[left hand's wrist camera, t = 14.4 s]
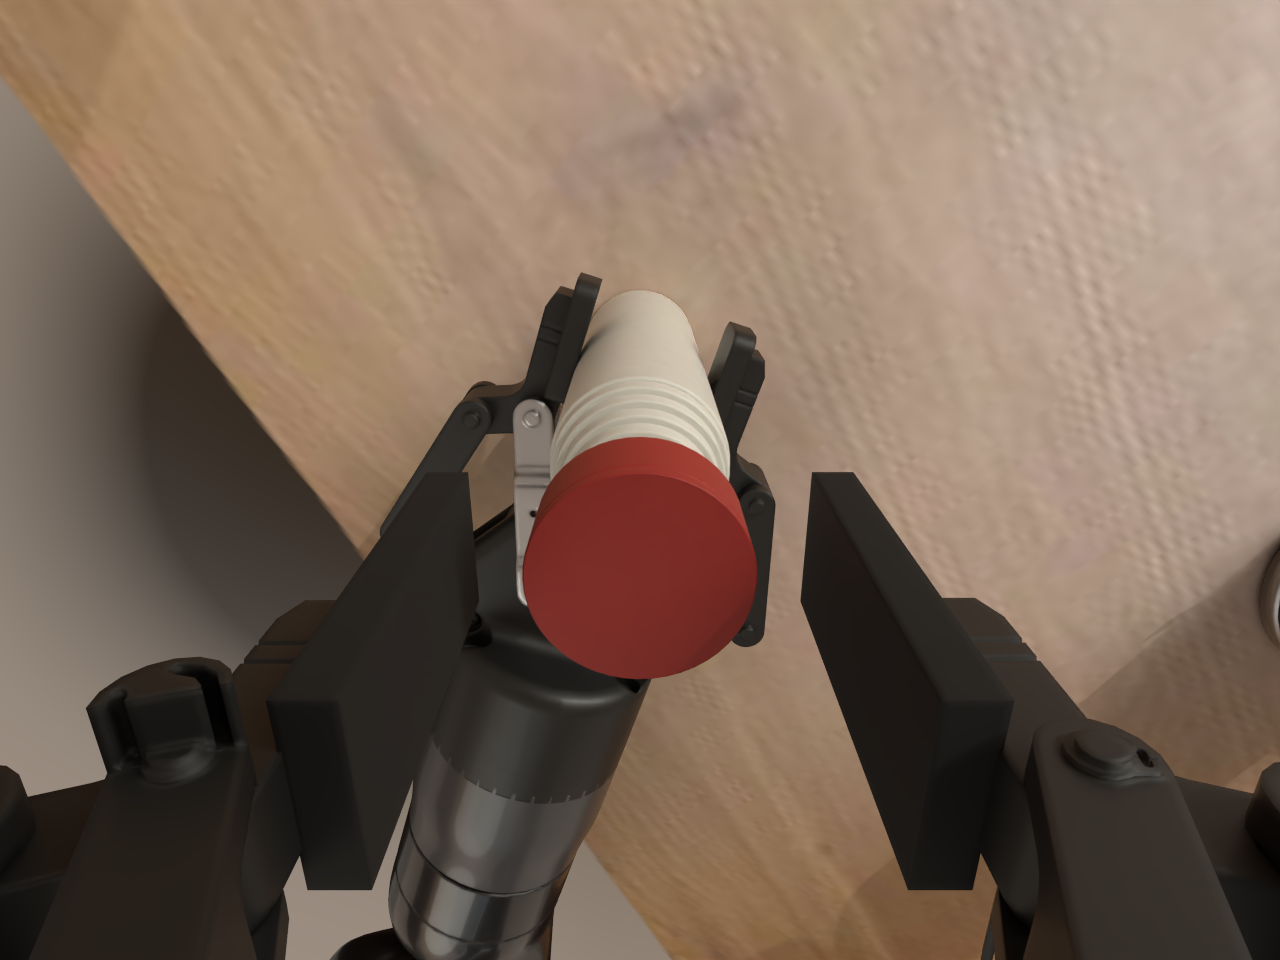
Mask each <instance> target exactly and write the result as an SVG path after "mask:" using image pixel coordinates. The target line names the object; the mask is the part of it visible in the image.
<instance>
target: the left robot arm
mask: <svg viewBox="0 0 1280 960" xmlns="http://www.w3.org/2000/svg"><path fill="white" fill-rule="evenodd" d="M478 604H479V590H478V579H477V568H476V557H475V546H474V535H473V524H472V513H471V502H470V490H469V479H468V472H427V473H426V474H425V475H424V477H423V478H422V480H421V481H420V483H419V484H418V485H417V487H416V488H415V490H414V491H413V492H412V494H411V495H410V497H409V498H408V500H407V501H406V502H405V504H404V505H403V507H402V508H401V509H400V511H399V512H398V514H397V515H396V517H395V518H394V519H393V521H392V522H391V524H390V525H389V526H388V528H387V529H386V531H385V532H384V534H383V535H382V536H381V538H380V539H379V541H378V542H377V543H376V545H375V546H374V548H373V549H372V551H371V552H370V553H369V555H368V556H367V558H366V559H365V561H364V562H363V563H362V565H361V566H360V568H359V569H358V571H357V572H356V573H355V575H354V576H353V578H352V579H351V580H350V582H349V583H348V585H347V586H346V587H345V589H344V590H343V592H342V593H341V595H340V596H339V597H338V599H337V600H306V601H304V602H302V603H301V604H299V605H298V606H296V607H295V608H293V609H291V610H290V611H288V612H287V613H285V614H284V615H282V616H281V617H279V618H278V619H276V620H275V622H274V623H273V624H272V625H271V627H270V628H269V629H268V630H267V631H266V633H265V634H264V635H263V636H262V638H261V639H260V640H259V645H255V646H254V648H253V649H252V650H251V651H250V652H249V654H248V655H247V656H246V657H245V659H244V664H240V665H239V666H238V667H237V669H236V670H235V671H234V672H233V674H232V673H231V669H230V668H228V667H227V666H226V665H224V664H223V663H222V662H221V661H219V660H213V659H208V658H203V657H191V658H177V659H171V660H168V661H164V662H160V663H156V664H152V665H148V666H146V667H143V668H141V669H139V670H136V671H134V672H132V673H130V674H127V675H125V676H123V677H121V678H119V679H118V680H116V681H115V682H113V683H112V684H110V685H109V686H107V687H106V688H104V689H103V690H102V691H100V692H99V693H98V694H97V695H96V697H95V698H94V699H93V700H92V701H91V703H90V704H89V705H88V706H87V707H86V710H87V713H88V716H89V719H90V722H91V725H92V728H93V731H94V734H95V737H96V740H97V743H98V746H99V749H100V752H101V755H102V758H103V761H104V764H105V767H106V770H107V775H106V778H105V779H104V780H101V781H97V782H94V783H89V784H85V785H80V786H76V787H71V788H66V789H62V790H57V791H53V792H48V793H43V794H39V795H34V796H30V797H28V796H27V794H26V791H25V789H24V786H23V784H22V781H21V779H20V776H19V774H17V773H16V772H15V771H13V770H12V769H10V768H9V767H7V766H1V765H0V960H285V954H286V944H287V934H288V924H289V916H288V909H287V903H286V899H285V895H284V890H283V888H284V886H285V884H286V882H287V880H288V878H289V876H290V874H291V872H292V870H293V868H294V866H295V864H296V862H297V860H298V858H299V856H300V858H301V862H302V867H303V872H304V876H305V880H306V885H307V889H308V890H372V888H373V885H374V883H375V880H376V877H377V875H378V872H379V869H380V867H381V864H382V861H383V859H384V856H385V853H386V851H387V848H388V845H389V842H390V840H391V837H392V834H393V832H394V829H395V826H396V824H397V821H398V818H399V816H400V813H401V810H402V808H403V805H404V802H405V799H406V797H407V794H408V791H409V789H410V786H411V783H412V781H413V778H414V775H415V773H416V770H417V767H418V765H419V762H420V759H421V757H422V754H423V751H424V749H425V746H426V743H427V740H428V738H429V735H430V732H431V730H432V727H433V724H434V722H435V719H436V716H437V714H438V711H439V708H440V706H441V703H442V700H443V697H444V695H445V692H446V689H447V687H448V684H449V681H450V679H451V676H452V673H453V671H454V668H455V665H456V663H457V660H458V657H459V655H460V652H461V649H462V646H463V644H464V641H465V638H466V636H467V633H468V630H469V628H470V625H471V622H472V620H473V617H474V614H475V612H476V609H477V606H478ZM801 604H802V606H803V609H804V612H805V614H806V617H807V620H808V622H809V625H810V628H811V630H812V633H813V636H814V638H815V641H816V644H817V646H818V649H819V652H820V655H821V657H822V660H823V663H824V665H825V668H826V671H827V673H828V676H829V679H830V681H831V684H832V687H833V689H834V692H835V695H836V697H837V700H838V703H839V706H840V708H841V711H842V714H843V716H844V719H845V722H846V724H847V727H848V730H849V732H850V735H851V738H852V740H853V743H854V746H855V749H856V751H857V754H858V757H859V759H860V762H861V765H862V767H863V770H864V773H865V775H866V778H867V781H868V783H869V786H870V789H871V791H872V794H873V797H874V800H875V802H876V805H877V808H878V810H879V813H880V816H881V818H882V821H883V824H884V826H885V829H886V832H887V834H888V837H889V840H890V842H891V845H892V848H893V851H894V853H895V856H896V859H897V861H898V864H899V867H900V869H901V872H902V875H903V877H904V880H905V883H906V885H907V888H908V890H973V885H974V881H975V876H976V872H977V867H978V863H979V858H980V854H982V856H983V858H984V860H985V862H986V864H987V866H988V868H989V870H990V872H991V874H992V876H993V878H994V880H995V882H996V884H997V890H996V895H995V899H994V903H993V907H992V911H991V915H990V920H989V924H988V928H987V932H986V936H985V941H984V945H983V949H982V955H981V960H992V959H993V955H994V952H995V960H1280V762H1277V763H1274V764H1272V765H1271V766H1269V767H1268V768H1266V769H1265V770H1263V771H1262V773H1261V776H1260V778H1259V781H1258V784H1257V786H1256V789H1255V791H1254V794H1252V793H1248V792H1243V791H1238V790H1234V789H1229V788H1224V787H1220V786H1215V785H1211V784H1206V783H1201V782H1197V781H1192V780H1188V779H1184V778H1181V777H1177V776H1174V774H1173V772H1172V770H1171V769H1170V768H1169V766H1168V765H1167V763H1166V762H1165V761H1164V759H1163V758H1162V756H1161V755H1160V754H1159V753H1157V752H1156V751H1155V750H1154V749H1152V748H1151V747H1150V746H1149V745H1147V744H1146V743H1145V742H1143V741H1142V740H1141V739H1139V738H1137V737H1135V736H1133V735H1131V734H1129V733H1127V732H1125V731H1123V730H1121V729H1119V728H1117V727H1115V726H1112V725H1108V724H1105V723H1102V722H1098V721H1095V720H1091V719H1087V718H1086V717H1085V715H1084V714H1083V713H1082V712H1081V711H1080V709H1079V708H1078V707H1077V706H1076V704H1075V703H1074V702H1073V701H1072V699H1071V698H1070V697H1069V696H1068V695H1067V693H1066V692H1065V691H1064V690H1063V688H1062V687H1061V686H1060V685H1059V684H1058V682H1057V681H1056V680H1055V679H1054V677H1053V676H1052V675H1051V674H1050V672H1049V671H1048V670H1047V669H1046V668H1045V666H1044V665H1043V664H1042V663H1041V661H1037V659H1036V655H1035V654H1034V653H1033V652H1032V650H1031V649H1030V648H1029V647H1028V645H1027V644H1026V643H1022V638H1021V637H1020V636H1019V634H1018V633H1017V632H1016V631H1015V630H1014V628H1013V627H1012V626H1011V625H1010V623H1009V622H1008V621H1007V620H1006V618H1005V617H1004V616H1002V615H1001V614H999V613H998V612H996V611H994V610H993V609H991V608H990V607H988V606H987V605H985V604H984V603H982V602H980V601H979V600H977V599H976V598H942V597H941V596H940V595H939V593H938V592H937V590H936V589H935V587H934V586H933V585H932V583H931V582H930V580H929V579H928V578H927V576H926V575H925V573H924V572H923V570H922V569H921V568H920V566H919V565H918V563H917V562H916V561H915V559H914V558H913V556H912V555H911V553H910V552H909V551H908V549H907V548H906V546H905V545H904V543H903V542H902V541H901V539H900V538H899V536H898V535H897V534H896V532H895V531H894V529H893V528H892V526H891V525H890V524H889V522H888V521H887V519H886V518H885V517H884V515H883V514H882V512H881V511H880V509H879V508H878V507H877V505H876V504H875V502H874V501H873V500H872V498H871V497H870V495H869V494H868V492H867V491H866V490H865V488H864V487H863V485H862V484H861V483H860V481H859V480H858V478H857V477H856V475H855V474H854V473H853V472H812V479H811V490H810V502H809V513H808V524H807V535H806V546H805V557H804V568H803V579H802V590H801Z"/></svg>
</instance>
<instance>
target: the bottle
mask: <svg viewBox="0 0 1280 960" xmlns="http://www.w3.org/2000/svg"><path fill="white" fill-rule="evenodd" d="M627 437H651V438H659V439H664V440H669V441H672V442H675V443H678V444H681V445H684V446H686V447H688V448H690V449H692V450H694V451H696V452H698V453H699V454H701V455H702V456H704V457H705V458H707V459H708V460H709V461H710V462H711V463H713V464H714V465H715V466H716V467H717V468H718V469H719V470H720V471H721V472H722V473H723V475H724V476H725V477H726V478H727V480H728V481H729V475H730V452H729V445H728V441H727V437H726V434H725V431H724V428H723V425H722V421H721V418H720V415H719V412H718V409H717V406H716V403H715V400H714V397H713V394H712V391H711V388H710V385H709V382H708V379H707V375H706V372H705V369H704V366H703V363H702V360H701V357H700V354H699V351H698V348H697V345H696V342H695V339H694V336H693V332H692V329H691V326H690V324H689V322H688V319H687V317H686V316H685V314H684V313H683V311H682V310H681V309H680V308H679V307H678V306H677V305H676V304H675V303H674V302H673V301H671V300H670V299H668V298H667V297H665V296H663V295H661V294H658V293H655V292H651V291H644V290H635V291H628V292H624V293H621V294H619V295H617V296H615V297H613V298H611V299H610V300H608V301H607V302H606V303H604V304H603V305H602V306H601V307H600V308H599V310H598V311H597V312H596V314H595V315H594V317H593V318H592V320H591V323H590V325H589V328H588V331H587V334H586V337H585V340H584V344H583V347H582V350H581V354H580V357H579V360H578V363H577V366H576V369H575V371H574V374H573V377H572V381H571V384H570V387H569V390H568V393H567V396H566V399H565V402H564V405H563V408H562V411H561V414H560V417H559V421H558V424H557V427H556V430H555V433H554V436H553V439H552V443H551V449H550V477H551V481H552V479H553V478H554V476H555V475H556V474H557V473H558V472H559V471H560V470H561V469H562V468H563V467H564V466H565V465H566V464H567V463H568V462H569V461H571V460H572V459H573V458H574V457H576V456H577V455H579V454H581V453H582V452H584V451H586V450H587V449H590V448H592V447H594V446H596V445H598V444H601V443H605V442H608V441H611V440H615V439H621V438H627Z"/></svg>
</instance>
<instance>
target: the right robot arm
mask: <svg viewBox="0 0 1280 960" xmlns="http://www.w3.org/2000/svg"><path fill="white" fill-rule="evenodd" d="M601 282H602V279H600V278H597V277H594V276H591V275H588V274H585V273H582V272H581V274H580V276H579V277H578V280H577V283H576V286H575V289H574V290H572V289H569V288H566V287H563V286H560V288H559V289H558V290H557V291H556V293H555V294H554V295H553V297H552V298H551V299H550V301H549V302H548V304H547V305H546V306H545V310H544V313H543V317H542V321H541V325H540V328H539V332H538V335H537V339H536V343H535V347H534V350H533V354H532V358H531V361H530V365H529V369H528V372H527V376H526V378H525V379H524V380H523V381H522V382H520V383H518V384H514V385H495V384H493V383H491V382H487V381H482V382H478V383H476V384H474V385H473V386H472V387H471V389H470V390H469V391H468V392H467V394H466V396H465V397H464V399H463V400H462V401H461V402H460V403H459V404H458V405H457V407H456V408H455V409H454V411H453V412H452V414H451V416H450V417H449V419H448V420H447V422H446V424H445V425H444V427H443V428H442V430H441V432H440V433H439V435H438V436H437V438H436V440H435V441H434V443H433V444H432V446H431V447H430V449H429V451H428V452H427V454H426V455H425V457H424V459H423V460H422V462H421V463H420V465H419V467H418V468H417V470H416V471H415V473H414V475H413V476H412V478H411V479H410V481H409V483H408V484H407V486H406V487H405V489H404V491H403V492H402V494H401V495H400V497H399V499H398V500H397V502H396V503H395V505H394V506H393V508H392V510H391V511H390V513H389V514H388V516H387V518H386V519H385V521H384V522H383V524H382V526H381V528H380V536H382V535H383V534H384V532H385V531H386V529H387V528H388V526H389V525H390V524H391V522H392V521H393V519H394V518H395V517H396V515H397V514H398V512H399V511H400V509H401V508H402V507H403V505H404V504H405V502H406V501H407V500H408V498H409V497H410V495H411V494H412V492H413V491H414V490H415V488H416V487H417V485H418V484H419V483H420V481H421V480H422V478H423V477H424V475H425V474H426V473H427V472H462V470H463V469H464V467H465V465H466V464H467V462H468V461H469V459H470V458H471V456H472V455H473V453H474V452H475V450H476V449H477V447H478V446H479V444H480V442H481V441H482V439H483V438H484V436H485V435H486V434H499V433H514V453H515V474H514V503H513V504H512V505H511V506H509V507H508V508H506V509H505V510H504V511H502V512H501V513H499V514H498V515H496V516H495V517H494V518H492V519H491V520H489V521H488V522H487V523H485V524H484V525H482V526H481V527H479V528H478V529H477V530H475V531H474V532H473V535H474V546H475V557H476V568H477V579H478V590H479V604H478V606H477V609H476V612H475V614H474V617H473V620H472V622H471V625H470V628H469V630H468V633H467V636H466V638H465V641H464V644H463V646H462V649H461V652H460V655H459V657H458V660H457V663H456V665H455V668H454V671H453V673H452V676H451V679H450V681H449V684H448V687H447V689H446V692H445V695H444V697H443V700H442V703H441V706H440V708H439V711H438V714H437V716H436V719H435V722H434V724H433V727H432V730H431V732H430V735H429V738H428V740H427V743H426V746H425V749H424V751H423V754H422V757H421V759H420V762H419V765H418V767H417V770H416V773H415V775H414V778H413V793H412V799H411V804H410V807H409V811H408V815H407V818H406V822H405V826H404V829H403V833H402V837H401V840H400V844H399V848H398V852H397V856H396V859H395V863H394V866H393V871H392V875H391V880H390V888H389V899H388V901H389V913H390V918H391V922H392V926H393V928H390V929H386V930H381V931H377V932H373V933H370V934H366V935H363V936H360V937H358V938H355V939H353V940H351V941H349V942H347V943H346V944H345V945H343V946H342V947H341V948H340V949H339V950H338V951H337V952H336V953H335V954H334V955H333V956H332V957H331V959H330V960H550V958H551V942H552V927H553V915H554V908H555V906H556V903H557V901H558V898H559V895H560V893H561V891H562V888H563V886H564V883H565V880H566V878H567V875H568V873H569V870H570V868H571V865H572V862H573V860H574V857H575V855H576V852H577V850H578V848H579V846H580V845H581V843H582V841H583V840H584V838H585V837H586V835H587V833H588V832H589V830H590V828H591V827H592V825H593V823H594V821H595V819H596V817H597V814H598V812H599V810H600V808H601V806H602V803H603V801H604V798H605V796H606V793H607V791H608V788H609V786H610V783H611V780H612V778H613V775H614V773H615V770H616V768H617V765H618V763H619V760H620V757H621V755H622V752H623V750H624V747H625V745H626V742H627V740H628V737H629V735H630V732H631V730H632V727H633V725H634V722H635V720H636V717H637V714H638V712H639V709H640V707H641V704H642V702H643V699H644V697H645V694H646V692H647V689H648V686H649V684H650V681H651V679H629V678H620V677H615V676H609V675H606V674H602V673H599V672H596V671H593V670H591V669H589V668H586V667H584V666H582V665H580V664H578V663H576V662H575V661H573V660H571V659H570V658H568V657H567V656H566V655H564V654H563V653H561V652H560V651H559V650H558V649H557V648H556V647H555V646H554V645H552V644H551V643H550V642H549V641H548V639H547V638H546V637H545V636H544V634H543V633H542V632H541V631H540V629H539V628H538V626H537V624H536V623H535V621H534V619H533V618H532V615H531V613H530V611H529V608H528V606H527V603H526V599H525V595H524V590H523V582H522V568H523V561H524V555H525V551H526V547H527V544H528V541H529V537H530V534H531V531H532V527H533V524H534V521H535V517H536V514H537V511H538V508H539V505H540V502H541V499H542V496H543V494H544V492H545V490H546V489H547V487H548V485H549V484H550V482H551V477H550V449H551V443H552V439H553V436H554V433H555V430H556V427H557V424H558V421H559V417H560V403H562V404H564V402H565V399H566V396H567V393H568V390H569V387H570V384H571V381H572V377H573V374H574V371H575V369H576V366H577V363H578V360H579V357H580V354H581V350H582V347H583V343H584V340H585V337H586V333H587V330H588V327H589V323H590V320H591V316H592V313H593V310H594V306H595V303H596V299H597V296H598V293H599V289H600V286H601ZM755 345H756V336H755V334H754V333H753V331H752V330H751V328H748V327H745V326H742V325H739V324H736V323H733V322H729V323H728V325H727V327H726V329H725V331H724V334H723V337H722V339H721V342H720V345H719V348H718V350H717V353H716V356H715V359H714V361H713V364H712V367H711V370H710V372H709V375H708V378H707V379H708V382H709V385H710V388H711V391H712V394H713V397H714V400H715V403H716V406H717V409H718V412H719V415H720V418H721V421H722V425H723V428H724V431H725V434H726V437H727V441H728V445H729V452H730V475H729V483H730V484H731V486H732V487H733V489H734V491H735V493H736V495H737V497H738V500H739V502H740V506H741V509H742V512H743V516H744V519H745V522H746V526H747V529H748V532H749V535H750V539H751V542H752V545H753V549H754V552H755V556H756V563H757V588H756V594H755V598H754V601H753V605H752V608H751V610H750V612H749V615H748V617H747V619H746V621H745V622H744V624H743V626H742V627H741V629H740V630H739V632H738V633H737V634H736V635H735V637H734V638H733V639H732V641H733V642H734V643H735V644H737V645H739V646H742V647H750V646H753V645H756V644H757V643H758V642H760V641H761V639H762V638H763V635H764V628H765V617H766V606H767V595H768V583H769V572H770V561H771V550H772V538H773V527H774V516H775V500H774V498H773V495H772V493H771V490H770V488H769V485H768V483H767V481H766V478H765V476H764V473H763V471H762V469H761V468H760V467H759V466H757V465H756V464H753V463H749V462H747V461H746V460H745V459H743V458H742V457H741V456H740V455H738V454H737V447H738V444H739V442H740V439H741V437H742V434H743V432H744V429H745V427H746V424H747V421H748V419H749V416H750V414H751V411H752V409H753V406H754V404H755V401H756V399H757V395H758V393H759V391H760V388H761V386H762V383H763V381H764V378H765V360H764V359H763V357H762V356H761V354H760V353H759V351H758V350H755V349H754V348H755ZM1260 615H1261V620H1262V623H1263V626H1264V629H1265V631H1266V633H1267V635H1268V636H1269V638H1270V639H1271V640H1272V642H1273V643H1274V644H1275V645H1276V646H1277V647H1278V648H1279V649H1280V549H1279V551H1278V552H1277V554H1276V556H1275V557H1274V559H1273V560H1272V562H1271V564H1270V566H1269V568H1268V570H1267V573H1266V575H1265V578H1264V581H1263V584H1262V588H1261V594H1260Z"/></svg>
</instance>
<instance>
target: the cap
mask: <svg viewBox="0 0 1280 960" xmlns="http://www.w3.org/2000/svg"><path fill="white" fill-rule="evenodd" d="M522 582H523V590H524V595H525V599H526V603H527V606H528V608H529V611H530V613H531V615H532V618H533V619H534V621H535V623H536V624H537V626H538V628H539V629H540V631H541V632H542V633H543V634H544V636H545V637H546V638H547V639H548V641H549V642H550V643H551V644H552V645H554V646H555V647H556V648H557V649H558V650H559V651H560V652H561V653H563V654H564V655H566V656H567V657H568V658H570V659H571V660H573V661H575V662H576V663H578V664H580V665H582V666H584V667H586V668H589V669H591V670H593V671H596V672H599V673H602V674H606V675H609V676H615V677H620V678H629V679H652V678H659V677H666V676H670V675H674V674H677V673H681V672H684V671H686V670H689V669H691V668H694V667H696V666H698V665H700V664H701V663H703V662H705V661H707V660H708V659H710V658H711V657H713V656H714V655H716V654H717V653H718V652H720V651H721V650H722V649H723V648H724V647H725V646H726V645H727V644H728V643H729V642H730V641H731V640H732V639H733V638H734V637H735V635H736V634H737V633H738V632H739V630H740V629H741V627H742V626H743V624H744V622H745V621H746V619H747V617H748V615H749V612H750V610H751V608H752V605H753V601H754V598H755V594H756V588H757V563H756V556H755V552H754V549H753V545H752V542H751V539H750V535H749V532H748V529H747V526H746V522H745V519H744V516H743V512H742V509H741V506H740V502H739V500H738V497H737V495H736V493H735V491H734V489H733V487H732V486H731V484H730V483H729V481H728V480H727V478H726V477H725V476H724V475H723V473H722V472H721V471H720V470H719V469H718V468H717V467H716V466H715V465H714V464H713V463H711V462H710V461H709V460H708V459H707V458H705V457H704V456H702V455H701V454H699V453H698V452H696V451H694V450H692V449H690V448H688V447H686V446H684V445H681V444H678V443H675V442H672V441H669V440H664V439H659V438H651V437H627V438H621V439H615V440H611V441H608V442H605V443H601V444H598V445H596V446H594V447H592V448H590V449H587V450H586V451H584V452H582V453H581V454H579V455H577V456H576V457H574V458H573V459H572V460H571V461H569V462H568V463H567V464H566V465H565V466H564V467H563V468H562V469H561V470H560V471H559V472H558V473H557V474H556V475H555V476H554V478H553V479H552V481H551V482H550V484H549V485H548V487H547V489H546V490H545V492H544V494H543V496H542V499H541V502H540V505H539V508H538V511H537V514H536V517H535V521H534V524H533V527H532V531H531V534H530V537H529V541H528V544H527V547H526V551H525V555H524V561H523V568H522Z"/></svg>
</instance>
